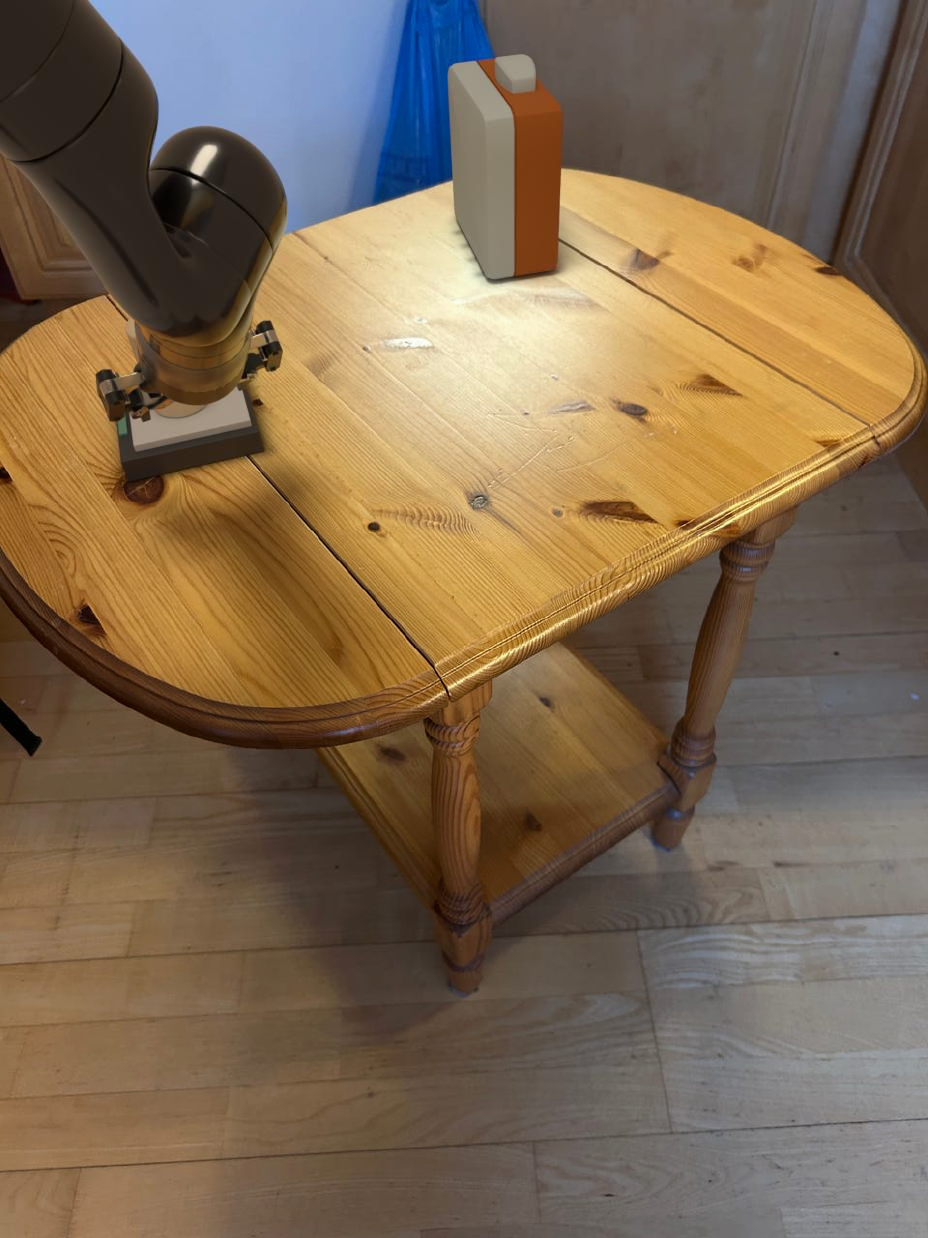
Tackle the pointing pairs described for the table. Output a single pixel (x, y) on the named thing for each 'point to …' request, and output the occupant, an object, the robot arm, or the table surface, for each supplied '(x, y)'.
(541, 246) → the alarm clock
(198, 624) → the table surface
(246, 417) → the scale
